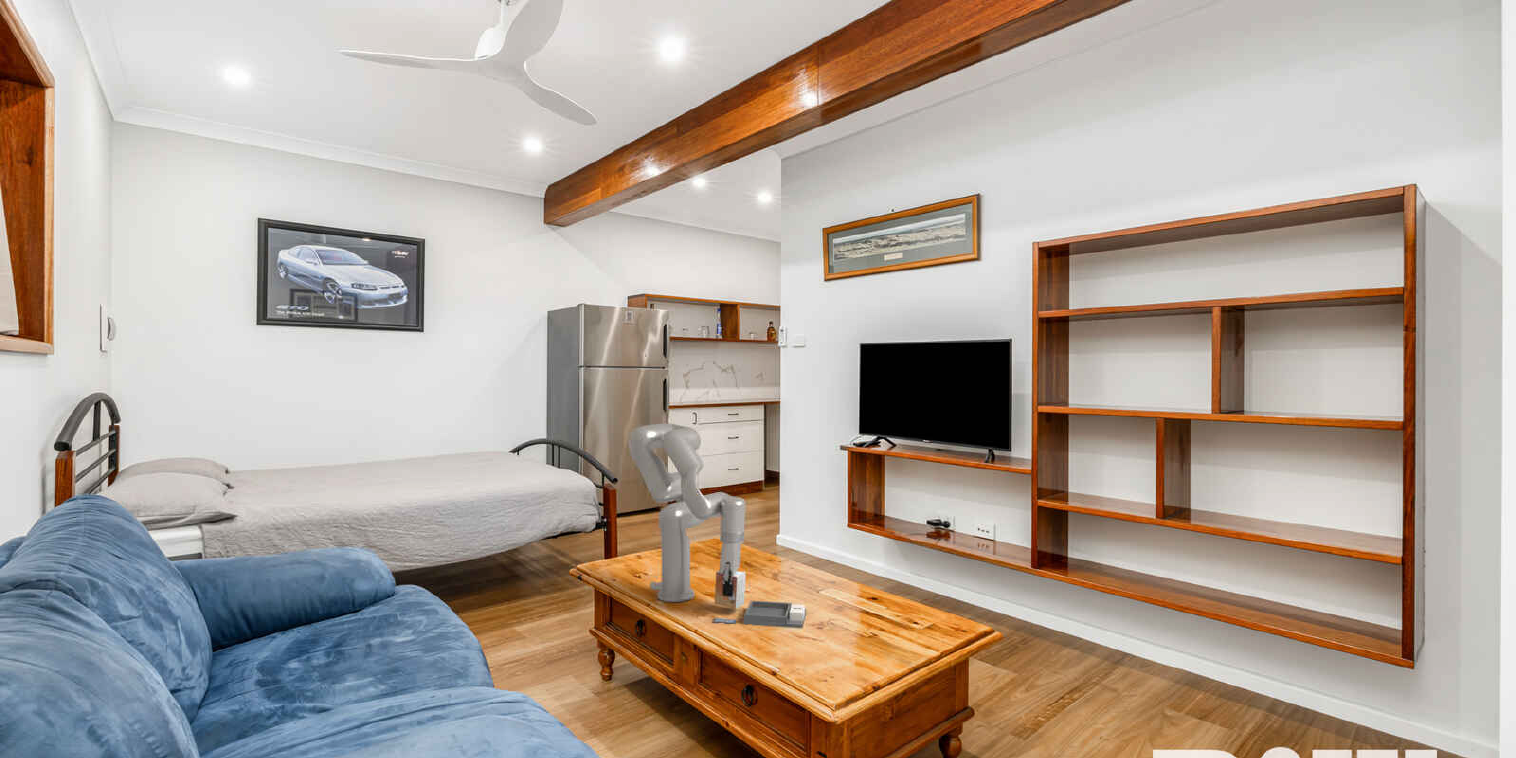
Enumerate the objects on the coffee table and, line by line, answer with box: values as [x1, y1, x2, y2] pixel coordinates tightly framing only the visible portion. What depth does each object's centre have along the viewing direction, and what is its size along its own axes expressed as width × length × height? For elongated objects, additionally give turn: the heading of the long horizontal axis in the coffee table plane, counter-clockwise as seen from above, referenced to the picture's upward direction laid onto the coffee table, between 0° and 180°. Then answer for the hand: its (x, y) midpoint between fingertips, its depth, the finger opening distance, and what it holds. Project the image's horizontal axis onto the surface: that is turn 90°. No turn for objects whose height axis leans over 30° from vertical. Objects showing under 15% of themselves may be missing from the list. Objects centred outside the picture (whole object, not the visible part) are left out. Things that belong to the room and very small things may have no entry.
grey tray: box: [742, 600, 807, 629], centre depth 210 cm, size 18×13×4 cm
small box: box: [714, 570, 747, 610], centre depth 216 cm, size 8×6×10 cm
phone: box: [711, 617, 738, 626], centre depth 207 cm, size 7×3×1 cm, turn 79°
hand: (729, 591), depth 216 cm, fingers closed on small box, 6 cm apart
